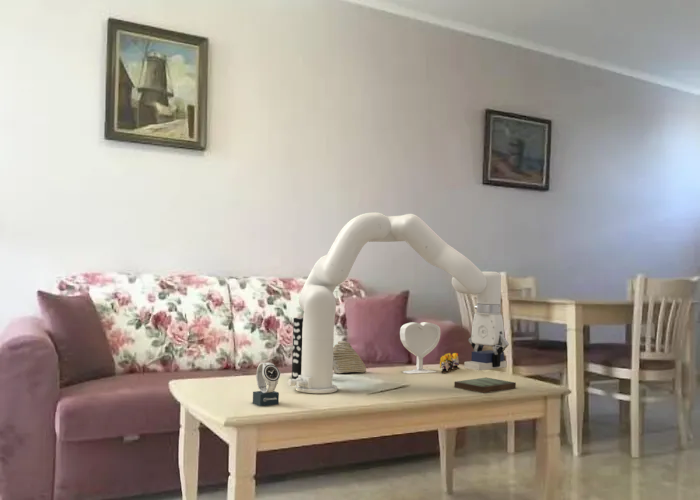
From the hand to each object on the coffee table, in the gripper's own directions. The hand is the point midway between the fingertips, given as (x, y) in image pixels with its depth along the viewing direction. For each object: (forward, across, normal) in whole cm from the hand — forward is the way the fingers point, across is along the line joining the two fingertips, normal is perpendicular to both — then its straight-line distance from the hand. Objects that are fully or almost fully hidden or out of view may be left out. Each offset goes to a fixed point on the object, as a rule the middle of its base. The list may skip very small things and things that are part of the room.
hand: (487, 365), depth 218 cm
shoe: (+1, 0, -1) cm, 1 cm away
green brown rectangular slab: (+7, 0, -1) cm, 7 cm away
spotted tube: (+7, -45, -40) cm, 61 cm away
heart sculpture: (+7, -35, +5) cm, 36 cm away
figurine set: (+7, -31, +17) cm, 36 cm away
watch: (+7, -16, -74) cm, 76 cm away
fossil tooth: (+7, -47, -20) cm, 52 cm away
